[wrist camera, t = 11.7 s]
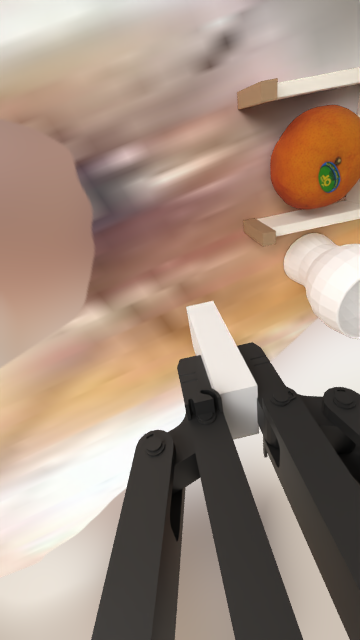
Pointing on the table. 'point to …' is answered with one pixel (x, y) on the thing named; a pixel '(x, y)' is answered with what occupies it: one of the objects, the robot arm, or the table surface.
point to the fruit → (317, 157)
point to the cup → (328, 280)
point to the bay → (268, 228)
